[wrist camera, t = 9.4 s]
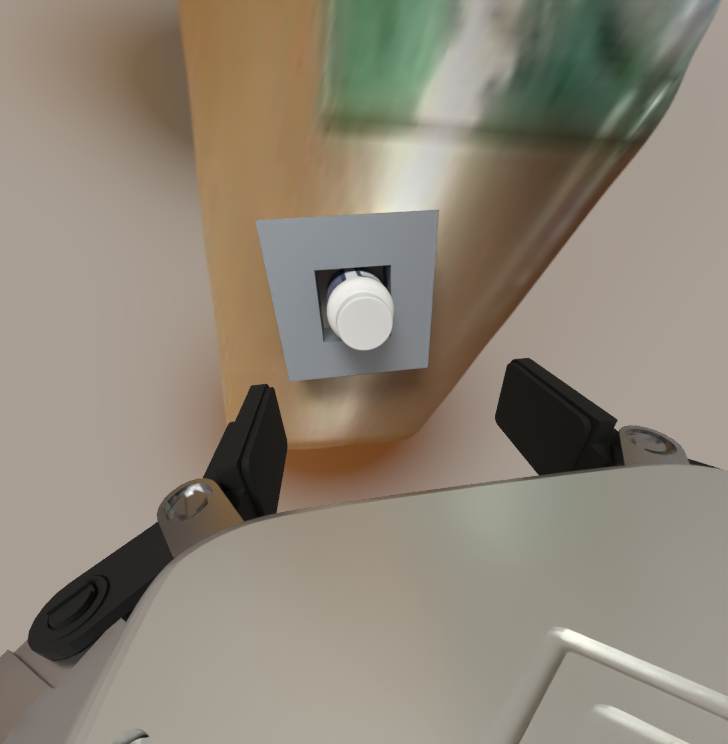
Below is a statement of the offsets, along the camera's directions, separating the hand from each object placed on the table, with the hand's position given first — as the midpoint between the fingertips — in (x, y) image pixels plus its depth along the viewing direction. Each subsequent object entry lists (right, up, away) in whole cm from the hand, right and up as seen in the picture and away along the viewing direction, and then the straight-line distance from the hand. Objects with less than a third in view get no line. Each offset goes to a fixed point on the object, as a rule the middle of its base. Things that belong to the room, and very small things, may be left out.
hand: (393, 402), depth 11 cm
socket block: (-3, +9, +18) cm, 20 cm away
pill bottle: (-2, +9, +17) cm, 19 cm away
